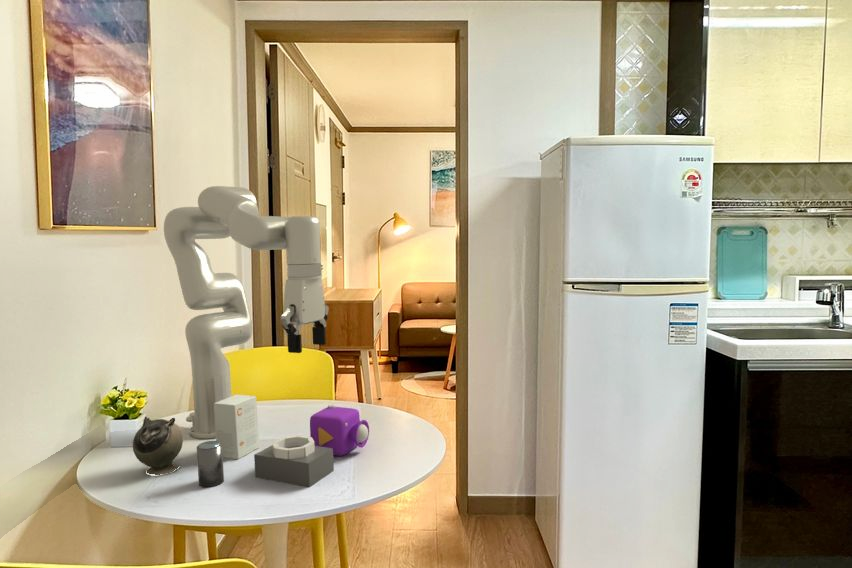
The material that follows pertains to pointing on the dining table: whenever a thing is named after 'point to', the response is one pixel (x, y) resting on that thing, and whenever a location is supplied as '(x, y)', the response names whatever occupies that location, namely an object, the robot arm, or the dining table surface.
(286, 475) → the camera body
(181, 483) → the dining table surface
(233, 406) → the small box
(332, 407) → the toy camera
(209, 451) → the lens
